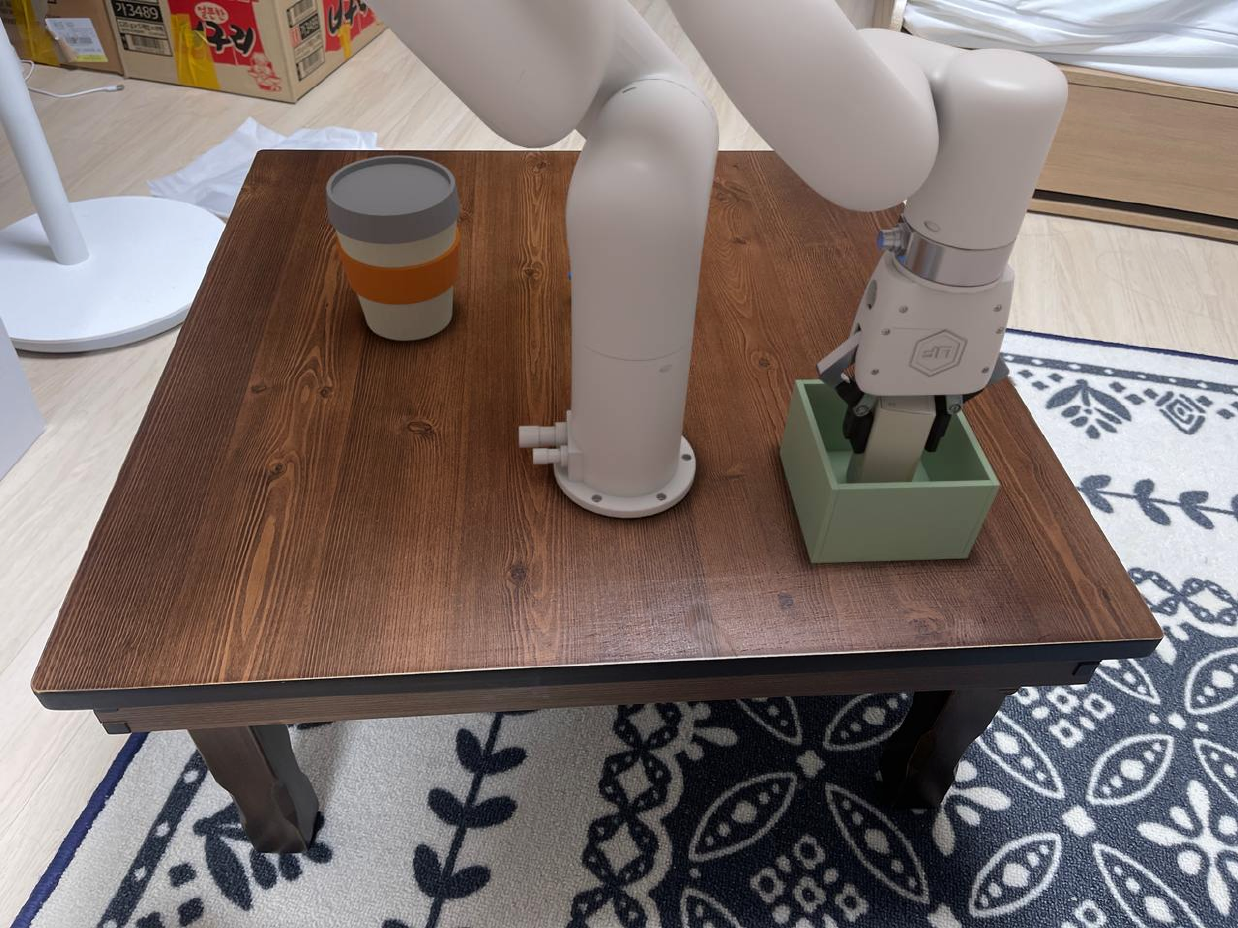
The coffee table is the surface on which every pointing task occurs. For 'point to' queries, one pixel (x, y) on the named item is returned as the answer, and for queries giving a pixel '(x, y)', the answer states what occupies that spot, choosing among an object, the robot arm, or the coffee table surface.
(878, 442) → the cosmetic box
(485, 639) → the coffee table surface
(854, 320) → the robot arm
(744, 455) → the coffee table surface
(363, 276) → the reusable coffee cup
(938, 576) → the coffee table surface
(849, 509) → the bin
